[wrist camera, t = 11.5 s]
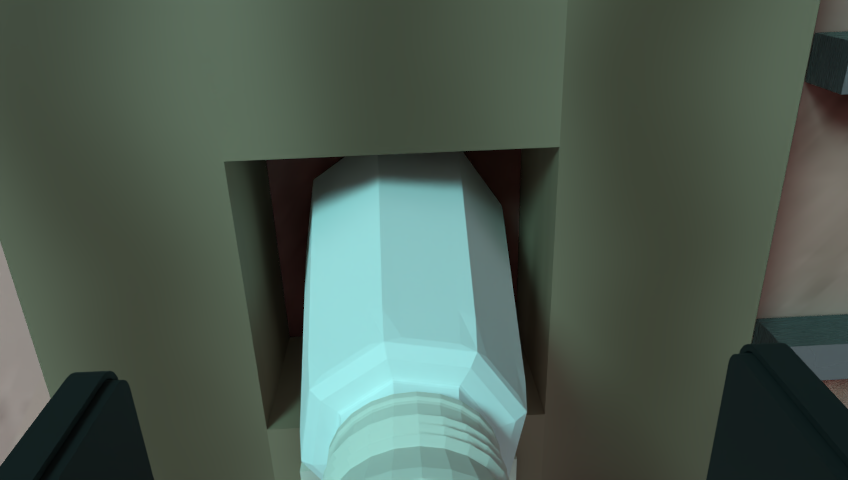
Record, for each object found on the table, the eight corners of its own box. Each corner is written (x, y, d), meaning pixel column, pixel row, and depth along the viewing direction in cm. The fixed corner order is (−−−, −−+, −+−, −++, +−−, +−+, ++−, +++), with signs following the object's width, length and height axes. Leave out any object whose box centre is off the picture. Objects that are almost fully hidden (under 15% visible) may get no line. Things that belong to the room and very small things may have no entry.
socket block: (744, -167, 15) (872, -203, 11) (653, 466, 22) (709, 579, 18) (0, -146, 14) (-146, -174, 10) (163, 494, 22) (113, 617, 18)
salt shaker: (434, 342, 20) (480, 758, 10) (267, 258, 18) (123, 641, 8) (541, 194, 18) (731, 516, 8) (365, 88, 17) (331, 321, 7)
